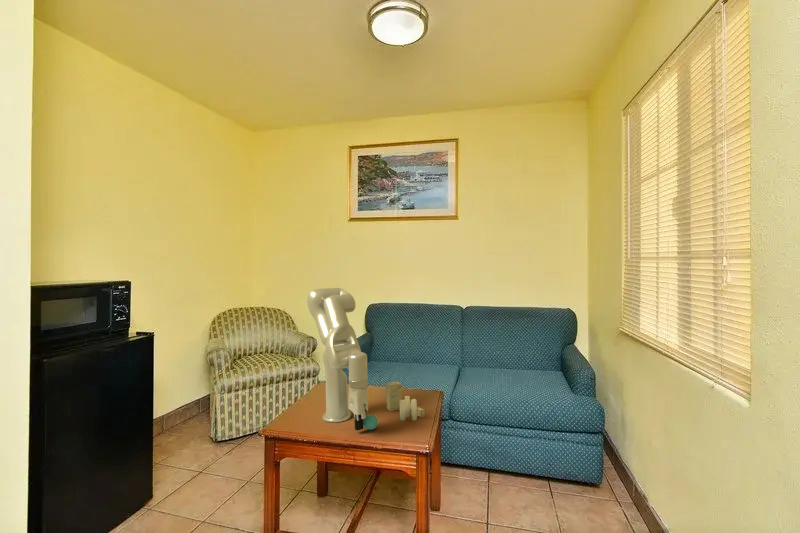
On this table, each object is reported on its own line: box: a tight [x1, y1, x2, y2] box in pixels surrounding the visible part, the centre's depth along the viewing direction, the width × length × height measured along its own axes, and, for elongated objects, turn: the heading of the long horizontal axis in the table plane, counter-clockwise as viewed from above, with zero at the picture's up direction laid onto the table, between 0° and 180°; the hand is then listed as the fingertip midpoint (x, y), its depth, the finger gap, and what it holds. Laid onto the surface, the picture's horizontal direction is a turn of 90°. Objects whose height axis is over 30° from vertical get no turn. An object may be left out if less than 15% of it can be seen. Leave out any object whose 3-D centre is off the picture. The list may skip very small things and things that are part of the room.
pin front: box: [399, 398, 407, 422], centre depth 162 cm, size 2×2×8 cm
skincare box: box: [386, 380, 403, 412], centre depth 175 cm, size 6×4×12 cm
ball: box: [363, 413, 379, 431], centre depth 153 cm, size 6×6×6 cm
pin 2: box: [410, 398, 418, 422], centre depth 162 cm, size 2×2×8 cm
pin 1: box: [404, 395, 411, 418], centre depth 166 cm, size 2×2×8 cm
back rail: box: [410, 402, 426, 418], centre depth 169 cm, size 12×2×3 cm, turn 34°
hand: (359, 429), depth 150 cm, fingers closed
